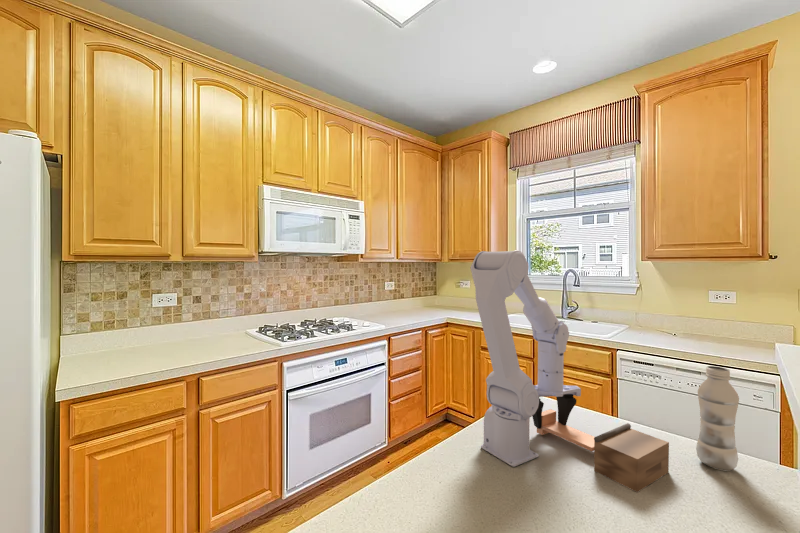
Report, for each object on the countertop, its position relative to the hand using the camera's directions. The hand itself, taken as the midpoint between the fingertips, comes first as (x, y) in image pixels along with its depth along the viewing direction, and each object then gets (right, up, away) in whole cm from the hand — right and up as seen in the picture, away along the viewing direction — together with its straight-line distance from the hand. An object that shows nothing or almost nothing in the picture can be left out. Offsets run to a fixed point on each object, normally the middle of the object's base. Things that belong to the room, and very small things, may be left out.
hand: (550, 426), depth 89 cm
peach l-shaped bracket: (+3, -2, -4) cm, 5 cm away
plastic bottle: (+28, -3, -14) cm, 32 cm away
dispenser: (+10, -2, -16) cm, 19 cm away
